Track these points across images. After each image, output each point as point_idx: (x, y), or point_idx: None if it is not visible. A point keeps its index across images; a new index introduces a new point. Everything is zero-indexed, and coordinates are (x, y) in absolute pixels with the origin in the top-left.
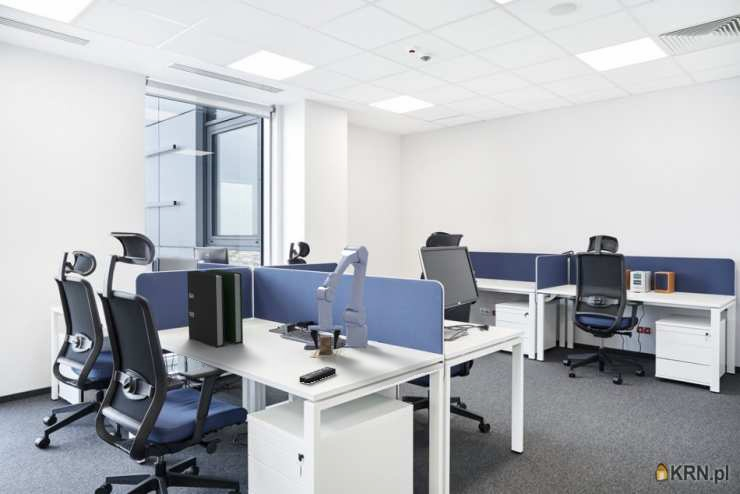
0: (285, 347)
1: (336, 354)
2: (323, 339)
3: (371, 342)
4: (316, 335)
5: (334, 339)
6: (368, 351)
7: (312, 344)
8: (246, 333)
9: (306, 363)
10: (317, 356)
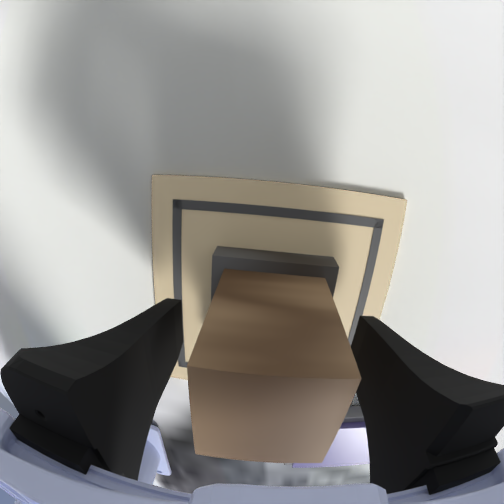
0: None
1: (170, 258)
2: (302, 358)
3: None
4: (412, 422)
5: (127, 343)
6: (17, 318)
7: (364, 444)
8: None
9: (410, 18)
10: (346, 200)
